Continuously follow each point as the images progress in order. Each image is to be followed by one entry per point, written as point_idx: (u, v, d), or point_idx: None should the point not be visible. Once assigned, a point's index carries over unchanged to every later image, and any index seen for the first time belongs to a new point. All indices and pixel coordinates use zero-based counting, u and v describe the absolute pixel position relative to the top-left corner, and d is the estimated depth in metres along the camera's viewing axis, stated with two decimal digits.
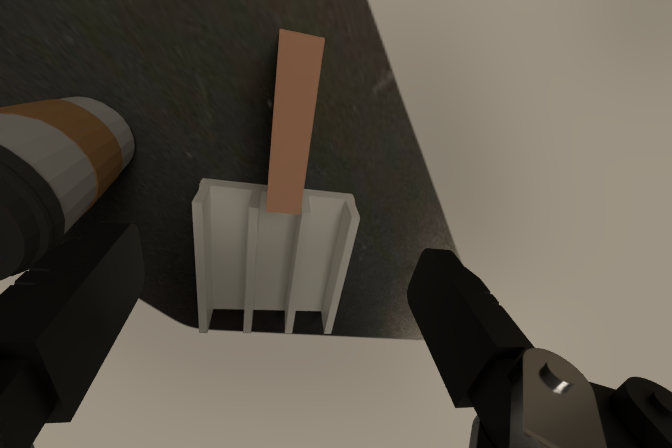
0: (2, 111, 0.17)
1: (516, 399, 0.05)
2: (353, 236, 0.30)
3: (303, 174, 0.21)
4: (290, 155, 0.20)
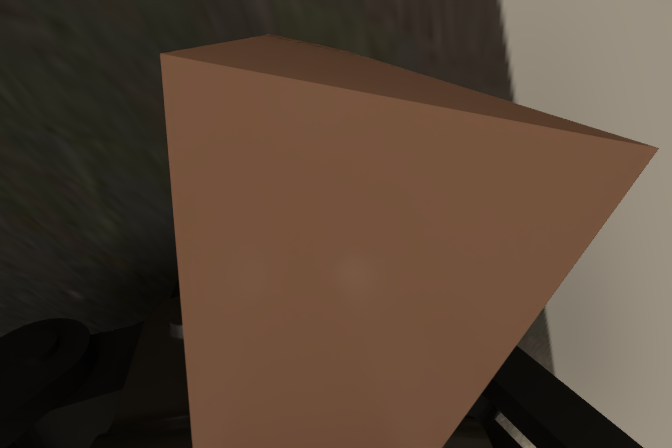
0: None
1: None
2: None
3: None
4: None
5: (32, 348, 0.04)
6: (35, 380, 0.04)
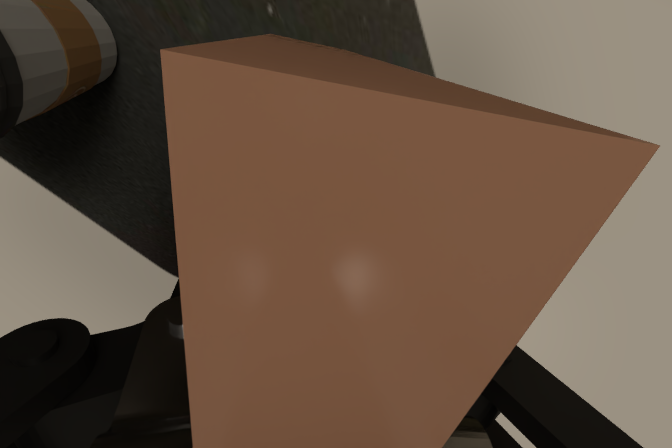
0: None
1: None
2: None
3: None
4: None
5: (32, 348, 0.04)
6: (35, 380, 0.04)
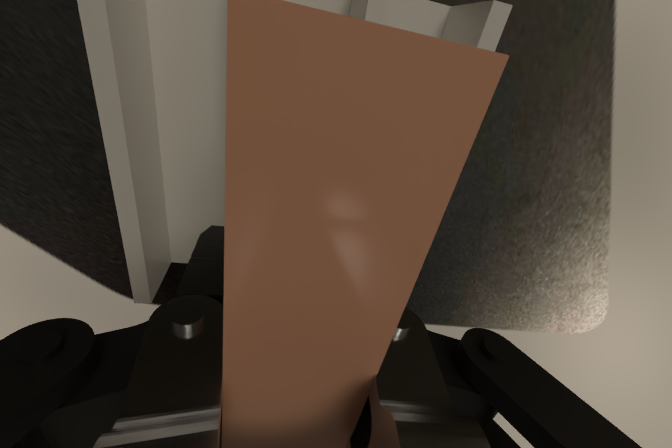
0: None
1: None
2: None
3: None
4: (290, 444, 0.06)
5: (37, 347, 0.04)
6: (40, 380, 0.04)
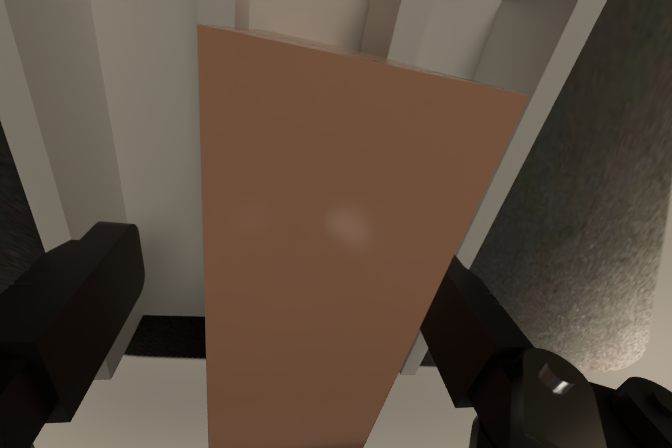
0: None
1: (516, 399, 0.05)
2: (558, 84, 0.09)
3: None
4: None
5: None
6: None
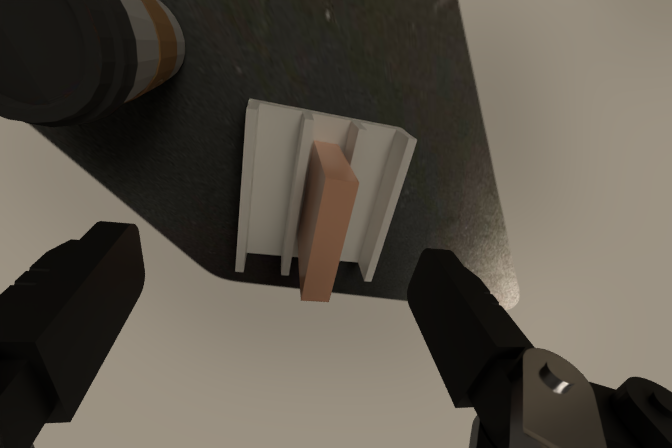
0: None
1: (516, 399, 0.05)
2: (407, 162, 0.28)
3: (334, 273, 0.25)
4: (324, 260, 0.24)
5: None
6: None
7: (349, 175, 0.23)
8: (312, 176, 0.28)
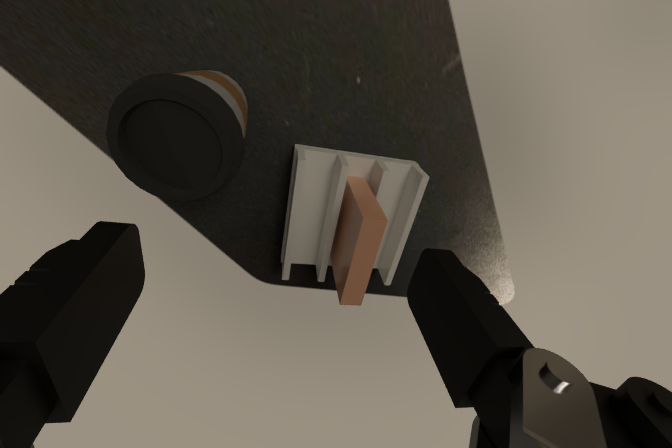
0: (194, 73, 0.23)
1: (516, 399, 0.05)
2: (421, 194, 0.35)
3: (366, 284, 0.33)
4: (359, 275, 0.32)
5: None
6: None
7: (379, 213, 0.30)
8: (346, 206, 0.35)
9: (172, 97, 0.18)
